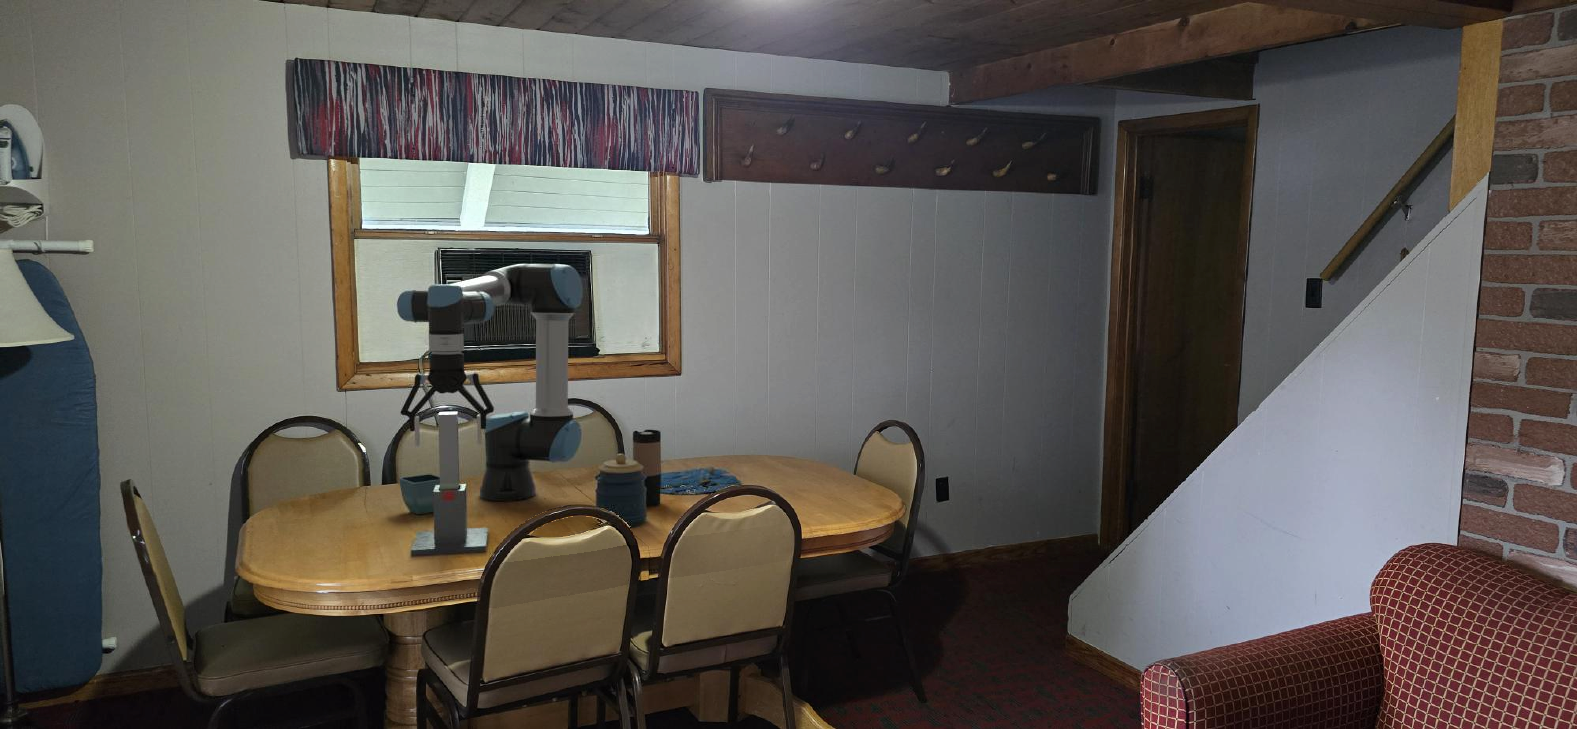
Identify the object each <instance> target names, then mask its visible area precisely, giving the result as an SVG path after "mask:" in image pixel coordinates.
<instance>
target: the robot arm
mask: <svg viewBox="0 0 1577 729" xmlns="http://www.w3.org/2000/svg"><path fill="white" fill-rule="evenodd" d="M581 279H582V278H581V277H580V274H579V273H578V271H577V269H575V268H574V267H573V266H571V265H568V264H560V263H551V264H550V263H518V264H512V265H508V266H504V267H501V268H498V269H494V270H489V271H486V272H485V273H483V275H481V276H479V277H476V278H472V279H467V280H463V281H458V282H454V283H451V284H450V283H449V284H431V285H430V286H429V287H428V289H424V290H416V289H413V290H404V291H402V292H401V294H400V295H399V296H398V298H397V300H396V308H397V309H396V310H397V314H398V316H399V317H400V318H401V319H402V320H403V321H405V322H412V323H413V322H414V323H416V324H417V323H428V351H430V352H431V353H430V354H429V355H428V359H429V360H428V364H429V365H428V368H429V373H428V374H422V373H420V372H418V373H416V374H415V376H414V382H413V383H414V384H413V386H412V388H411V390H410V392H409V394H408V395H407V398H406V400H405V402H404V404H403V406H402V408H401V409H400V410H401V411H400V415H402V416H407V417H408V420H409V421H408V422H409V431H410V432H414V447H420V444H421V440H420V437H421V434H420V416H419V415H417V413H419V412H420V411H421V409H423V407H424V406H425V404H427V402H428V401H429V400H430V399H431V397H432V396H433V395H434V394H435V393H436V392H437V393H438V394H446V393H447V394H448V393H449V394H455V393H457V392H459V393H460V395H462V397H463V398H464V399H465V400H466V401H468V403H469V404H470V405H471V406H472V407H473V408H474V409H475V410H476V412H478V413H479V414H477V416H476V418H477V419H476V423H477V424H476V425H477V426H476V427H477V429H476V430H477V431H476V432H477V445H481V444H482V443H483V442H482V441H483V439H482V430H484V432H483V433H484V447H485V448H484V449H485V450H484V451H485V454H484V455H485V470H484V474H483V478H482V484H481V485H480V487H479V497H480V498H481V499H483V500H486V501H493V502H496V501H497V502H509V501H510V502H512V500H513V501H519V500H520V501H521V500H525V499H530V498H532V497H534V496H535V495H536V493H537V492H536V491H537V489H536V484H535V482H534V480H533V479H534V478H533V475H532V472H531V470H530V469H531V468H530V463H529V462H530V461H537V462H550V463H567V462H569V461H571V460H572V459H573V458H574V457H575V455H576V454H577V452H578V450H579V448H580V444H581V441H582V435H583V434H582V427H581V423H580V422H579V421H577V420H576V419H574V412H573V411H572V410H571V409H570V408H569V406H568V404H569V403H568V400H569V399H568V397H569V396H568V395H569V392H568V391H569V320H570V319H571V318H572V317H573V316H574V315H575V309H576V308H578V307H580V305H581V304H582V300H583V296H584V288H583V282H582V280H581ZM499 306H518V307H519V306H520V307H530V314H531V315H532V317H534V319H535V320H536V322H535V323H536V324H535V325H536V328H535V330H536V333H535V339H536V340H535V407H534V408H533V409H532V410H531V411H530V412H529V414H528V412H527V411H515V412H513V411H512V412H505V413H504V412H503V413H499V414H495V415H491V416H488V414H491V413H493V412H494V411H495V407H494V405H493V404H492V401H491V400H490V398H489V396H488V395H487V392H486V391H485V389H484V387H483V386H482V384H481V382H480V376H479V373H478V372H477V371H476V372H473V373H466V372H465V355H464V353H463V351H464V350H465V349H464V348H465V347H464V346H465V343H464V338H465V337H464V325H470V324H471V325H472V324H481V323H484V322H487V321H489V320H490V319H491V318H492V317H493V315H494V312H495V307H499ZM467 380H468V381H469V382H470V384H473V385H474V387H475V390H476V391H477V393H478V395H479V397H480V398H481V400H482V403H483V404H484V405H485V408H484V406H482V405H481V403H480V402H479V401H477V399H476V398H475V397H474V396H473V395H472V394H471V393H470V392H469V391H468V389H467V388H466V387H465V386H464V383H465V382H466V381H467ZM425 381H428V383H429V384H430V385H431V388H430V389H429V390H428V391H427V392H426V393H425V395H424V396H423V397H422V398H421V399H420V400H419V401H418V403H417V404H416V405H415V406H414V407H413V409H412V410H410V407H411V405H412V403H413V401H414V398H415V396H416V395H417V394H418V391H419V389H420V386H421V385H423V384H424V383H425ZM487 416H488V418H487Z"/></svg>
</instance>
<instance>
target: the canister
mask: <svg viewBox="0 0 1577 729" xmlns="http://www.w3.org/2000/svg"><path fill="white" fill-rule="evenodd" d="M597 469H598V470H599V473H597V474H596V475H595V476H594V479H595V481H596V488H595V489H594V490H595V507H596V506H597V507H599V508H604V509H606V510H608V511H612V512H614V513H615V514H616V515H619V517H620V518H621V519H623V520H624V521H625V522H627V524H628V525H629V526H631V527H630V528H633V527H638V526H641V525H643V524H646V522H647V517H648V511H647V507H646V490H647V488H646V487H645V479H646V478H647V475H646V474H645V473H643V472H642V469H643V466H642V465H641V464H639V463H638V462H637V461H634V460H633V459H627V457H626V454H624V453H618V454H617V455H616V456H615V459H611V460H606V461H605V462H604V463H602V464H601V465H599V466H598V467H597ZM596 520H597V521H598V522H600V523H598V524H601V523H603V522H602V521H601V520H599V519H596V518H595V521H596ZM598 524H597V525H598Z"/></svg>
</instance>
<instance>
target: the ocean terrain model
mask: <svg viewBox="0 0 1577 729" xmlns="http://www.w3.org/2000/svg"><path fill="white" fill-rule="evenodd" d="M740 483H741V480H739V478H737V476H734V474H733V475H732V474H730V472H728V471H727V470H723V469H721V468H720V469H715V467H714V466H713V465H712V466H709V467H707V468H702V467H701V468H695V469H690V470H680V471H668V472H661V492H660V494H661V493H665V494H670V493H672V495H678V494H677V493H680V495H687V494H686V493H687V492H686V490H690V492H691V493H695V495H696V493H699V494H701V493H711V492H714V491H715V492H717V491H716V490H719V489H723V488H725V487H728V486H731V485H740ZM666 485H667V487H666ZM668 485H669V486H668ZM677 485H678V486H677ZM681 485H685V486H686V487H685V486H682V487H680V486H681ZM704 485H705V488H703V487H704ZM711 485H716V486H715V487H714V486H712V487H709V486H711ZM664 486H665V487H664ZM671 486H676V487H678V488H674V487H671ZM691 486H693V487H691ZM700 486H702V487H700ZM669 487H671V488H669ZM689 487H690V488H689ZM707 487H709V488H707ZM662 488H664V489H667V488H668V489H667V490H664V489H662ZM672 488H673V489H672ZM670 489H672V490H670ZM693 489H696V490H695V492H694V490H693ZM704 489H705V491H704ZM673 493H674V494H673ZM682 493H684V494H682ZM688 493H689V491H688Z"/></svg>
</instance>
